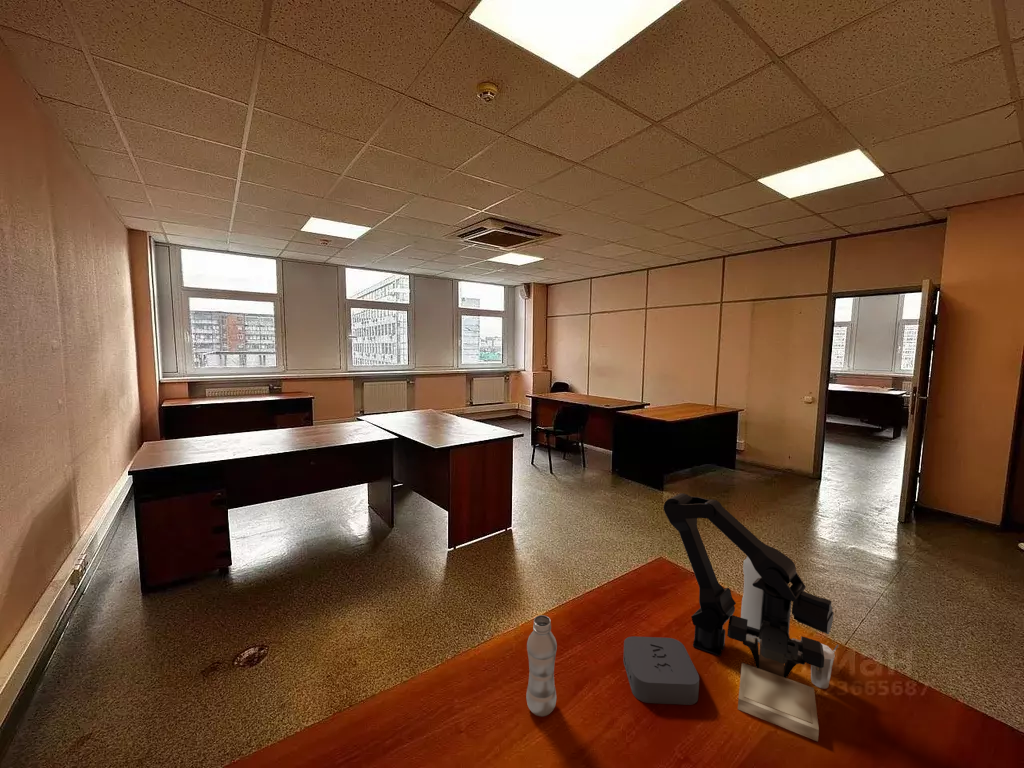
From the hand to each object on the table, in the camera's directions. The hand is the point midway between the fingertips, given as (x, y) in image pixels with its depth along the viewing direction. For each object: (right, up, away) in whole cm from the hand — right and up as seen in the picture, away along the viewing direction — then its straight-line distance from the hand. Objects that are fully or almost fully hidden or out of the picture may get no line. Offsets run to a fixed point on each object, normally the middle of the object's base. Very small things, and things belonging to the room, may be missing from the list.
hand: (771, 673), depth 99 cm
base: (-3, -2, -7) cm, 8 cm away
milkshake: (+11, -2, -2) cm, 11 cm away
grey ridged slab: (+4, 0, +15) cm, 16 cm away
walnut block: (+1, -1, +2) cm, 3 cm away
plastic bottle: (-55, -2, -9) cm, 55 cm away
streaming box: (-26, -1, 0) cm, 27 cm away
